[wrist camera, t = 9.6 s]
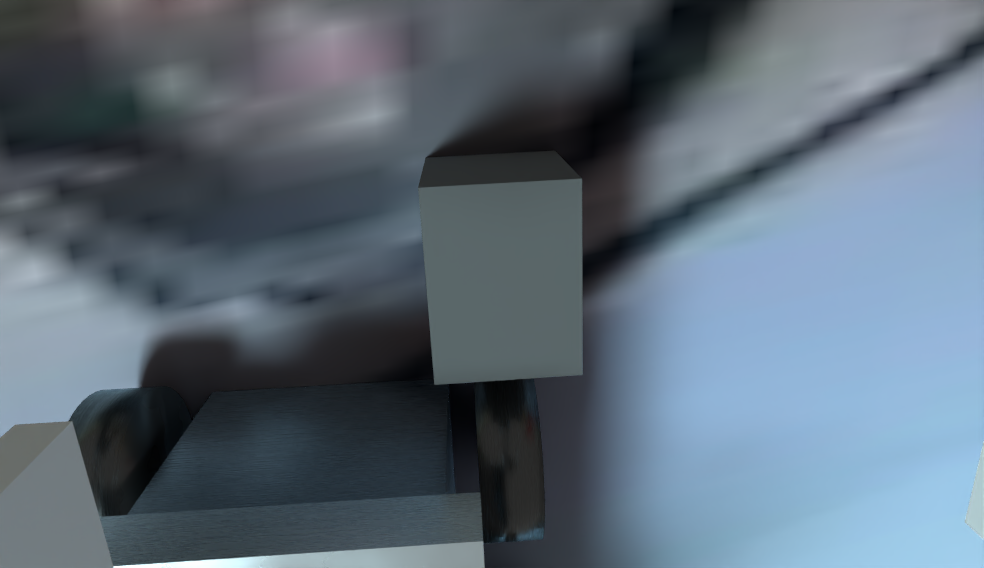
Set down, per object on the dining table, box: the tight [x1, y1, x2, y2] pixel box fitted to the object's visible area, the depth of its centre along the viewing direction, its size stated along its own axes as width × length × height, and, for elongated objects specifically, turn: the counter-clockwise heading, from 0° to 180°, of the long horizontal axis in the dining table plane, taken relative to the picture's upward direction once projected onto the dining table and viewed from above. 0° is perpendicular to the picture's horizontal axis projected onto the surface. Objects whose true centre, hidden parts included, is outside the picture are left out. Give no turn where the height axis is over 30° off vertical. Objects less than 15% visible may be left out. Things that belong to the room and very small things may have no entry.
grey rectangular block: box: [418, 151, 583, 385], centre depth 22 cm, size 6×4×6 cm
